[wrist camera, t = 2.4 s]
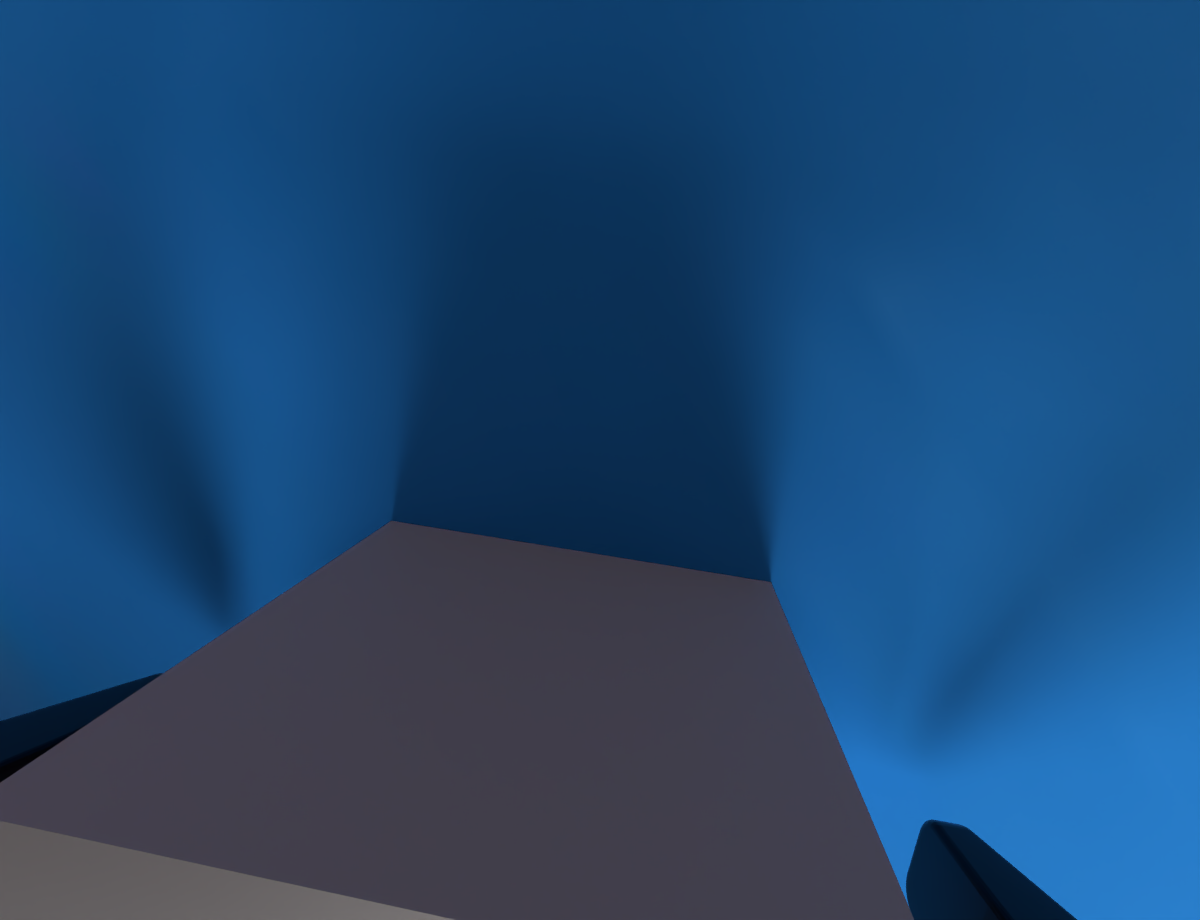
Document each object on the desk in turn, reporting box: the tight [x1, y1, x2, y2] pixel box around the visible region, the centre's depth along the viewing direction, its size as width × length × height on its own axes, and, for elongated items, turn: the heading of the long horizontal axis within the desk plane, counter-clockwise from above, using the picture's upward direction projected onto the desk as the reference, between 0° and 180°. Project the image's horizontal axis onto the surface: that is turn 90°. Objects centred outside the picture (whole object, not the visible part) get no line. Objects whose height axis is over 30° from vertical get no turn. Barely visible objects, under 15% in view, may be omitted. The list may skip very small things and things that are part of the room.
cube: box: [0, 521, 914, 920], centre depth 6 cm, size 5×5×5 cm
